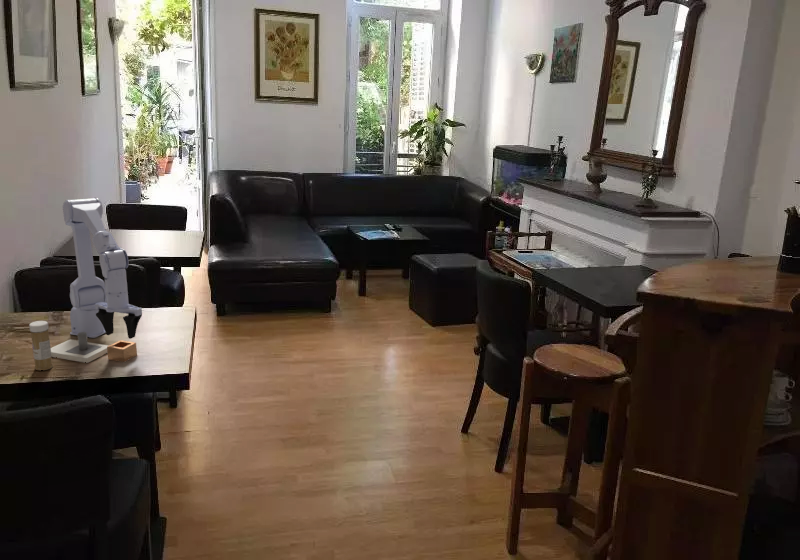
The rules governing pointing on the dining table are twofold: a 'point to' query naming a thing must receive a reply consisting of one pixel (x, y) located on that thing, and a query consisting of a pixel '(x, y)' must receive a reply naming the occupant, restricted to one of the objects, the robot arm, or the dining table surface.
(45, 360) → the sprinkles bottle
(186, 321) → the dining table surface
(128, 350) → the small wooden box
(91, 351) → the post stand
